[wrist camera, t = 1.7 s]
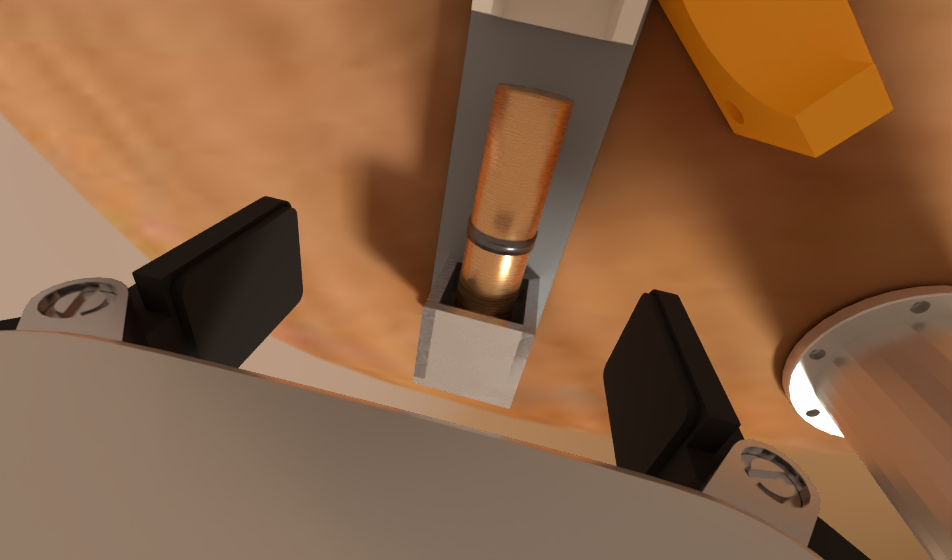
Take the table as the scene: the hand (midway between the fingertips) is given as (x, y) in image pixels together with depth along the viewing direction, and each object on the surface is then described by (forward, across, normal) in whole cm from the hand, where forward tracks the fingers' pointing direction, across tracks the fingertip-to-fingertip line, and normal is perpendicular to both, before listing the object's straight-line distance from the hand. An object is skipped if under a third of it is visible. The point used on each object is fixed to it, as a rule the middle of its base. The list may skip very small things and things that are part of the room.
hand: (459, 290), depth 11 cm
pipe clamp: (+15, -8, -9) cm, 19 cm away
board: (+15, -1, +2) cm, 15 cm away
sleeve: (+14, -1, +10) cm, 17 cm away
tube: (+13, -1, +4) cm, 13 cm away
